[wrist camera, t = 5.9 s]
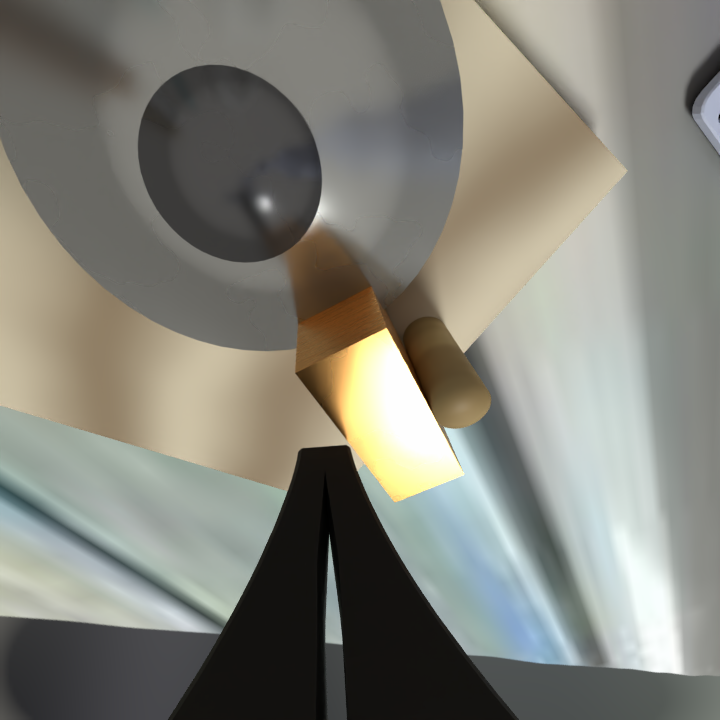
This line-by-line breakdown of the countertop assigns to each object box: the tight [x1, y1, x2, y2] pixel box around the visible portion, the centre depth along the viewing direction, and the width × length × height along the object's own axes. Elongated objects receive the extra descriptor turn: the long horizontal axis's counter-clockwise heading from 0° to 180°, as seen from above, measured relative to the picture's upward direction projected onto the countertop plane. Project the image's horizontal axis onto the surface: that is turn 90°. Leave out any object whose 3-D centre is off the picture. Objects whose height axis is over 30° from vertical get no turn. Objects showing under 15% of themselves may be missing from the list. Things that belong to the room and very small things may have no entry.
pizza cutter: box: [0, 0, 464, 502], centre depth 9 cm, size 15×10×4 cm, turn 27°
